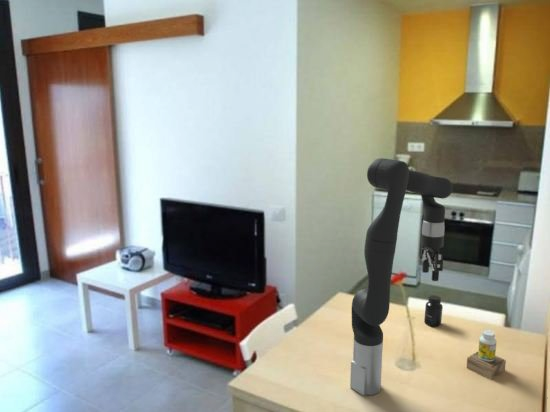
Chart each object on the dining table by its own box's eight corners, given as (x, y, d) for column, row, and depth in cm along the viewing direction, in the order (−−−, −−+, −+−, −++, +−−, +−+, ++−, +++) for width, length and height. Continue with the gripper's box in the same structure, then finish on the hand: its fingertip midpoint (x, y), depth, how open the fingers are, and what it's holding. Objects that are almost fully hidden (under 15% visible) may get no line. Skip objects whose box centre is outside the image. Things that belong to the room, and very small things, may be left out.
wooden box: (491, 379, 156) (492, 368, 155) (466, 367, 163) (467, 356, 163) (504, 370, 162) (505, 359, 161) (480, 359, 169) (481, 348, 168)
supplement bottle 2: (498, 360, 160) (500, 335, 158) (485, 363, 158) (487, 337, 156) (486, 352, 165) (489, 328, 163) (474, 355, 163) (476, 330, 161)
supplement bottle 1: (424, 326, 194) (426, 299, 192) (424, 319, 201) (425, 293, 198) (441, 328, 192) (443, 301, 190) (440, 321, 199) (442, 295, 196)
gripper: (452, 238, 158) (448, 283, 161) (434, 227, 171) (432, 269, 175) (430, 239, 157) (427, 284, 161) (415, 228, 171) (412, 269, 174)
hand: (429, 276), depth 168 cm, fingers open, 8 cm apart
